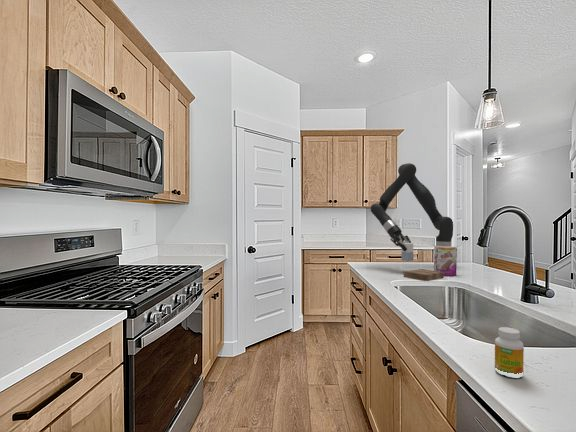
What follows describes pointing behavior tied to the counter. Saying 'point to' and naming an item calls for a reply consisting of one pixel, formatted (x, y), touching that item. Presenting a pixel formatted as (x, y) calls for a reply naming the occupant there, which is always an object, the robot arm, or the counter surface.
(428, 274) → the walnut stand
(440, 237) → the robot arm
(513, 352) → the supplement bottle
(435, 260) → the candy bar box
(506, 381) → the counter surface
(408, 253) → the housing block
